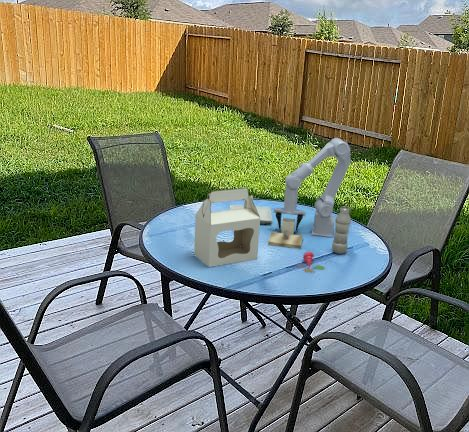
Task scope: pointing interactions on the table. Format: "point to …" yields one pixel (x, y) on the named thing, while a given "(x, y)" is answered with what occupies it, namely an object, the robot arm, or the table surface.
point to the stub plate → (285, 240)
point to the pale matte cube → (288, 225)
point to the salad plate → (262, 211)
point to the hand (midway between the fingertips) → (287, 229)
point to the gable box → (235, 219)
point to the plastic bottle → (341, 231)
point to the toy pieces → (309, 262)
